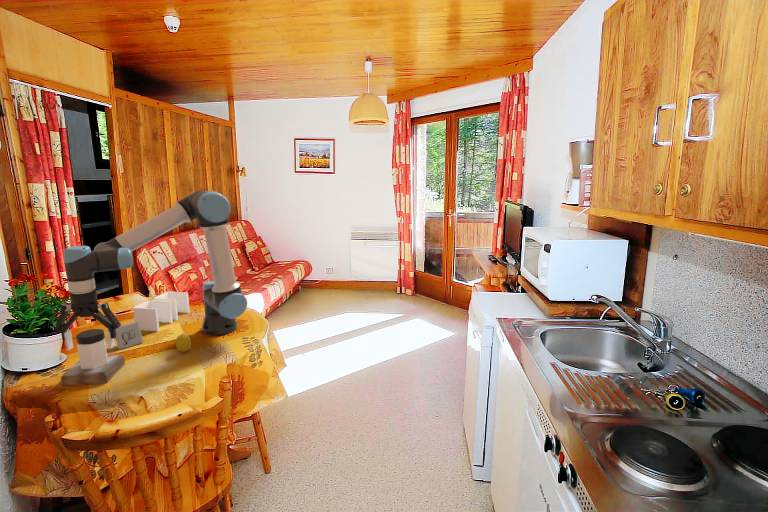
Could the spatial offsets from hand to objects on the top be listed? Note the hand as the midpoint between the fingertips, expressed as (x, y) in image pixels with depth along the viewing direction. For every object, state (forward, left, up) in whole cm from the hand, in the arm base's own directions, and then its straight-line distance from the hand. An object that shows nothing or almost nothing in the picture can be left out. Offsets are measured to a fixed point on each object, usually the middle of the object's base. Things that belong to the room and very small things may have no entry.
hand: (91, 347), depth 146 cm
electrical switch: (-1, -25, -11) cm, 27 cm away
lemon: (-26, -15, -11) cm, 32 cm away
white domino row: (-6, -52, -11) cm, 54 cm away
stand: (0, 0, -10) cm, 10 cm away
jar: (0, 0, -7) cm, 7 cm away
